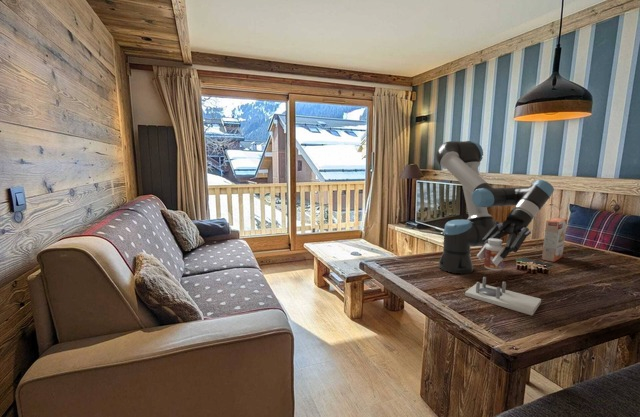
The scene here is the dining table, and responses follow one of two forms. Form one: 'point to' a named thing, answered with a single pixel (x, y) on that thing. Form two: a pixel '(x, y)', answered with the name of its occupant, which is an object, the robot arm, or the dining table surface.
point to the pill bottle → (493, 254)
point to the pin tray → (503, 297)
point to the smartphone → (534, 261)
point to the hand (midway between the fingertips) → (486, 260)
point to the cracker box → (554, 239)
